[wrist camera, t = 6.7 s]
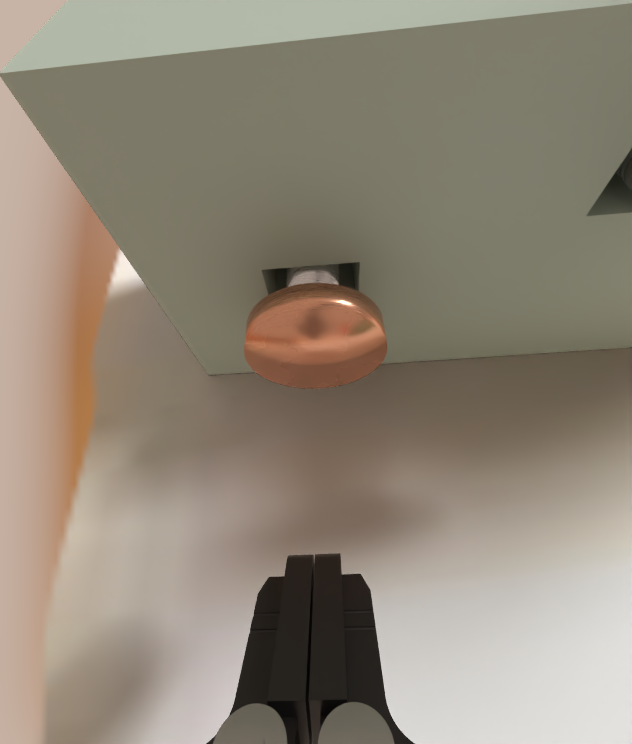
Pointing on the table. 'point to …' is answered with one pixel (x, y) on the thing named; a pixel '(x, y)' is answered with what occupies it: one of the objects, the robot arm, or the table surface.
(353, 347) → the plunger terracotta
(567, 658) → the table surface
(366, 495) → the table surface
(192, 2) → the console
